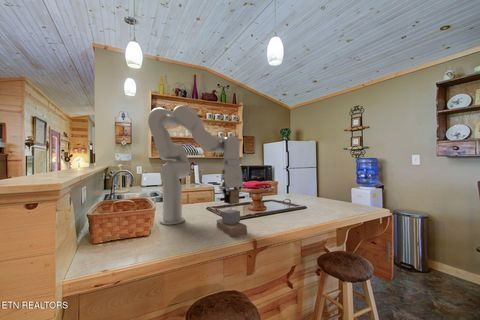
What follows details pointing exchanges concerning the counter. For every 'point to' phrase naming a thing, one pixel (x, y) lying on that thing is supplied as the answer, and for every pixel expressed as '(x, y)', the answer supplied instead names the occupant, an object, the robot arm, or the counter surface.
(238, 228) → the brick
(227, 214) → the slate block
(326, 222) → the counter surface
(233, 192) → the walnut block
